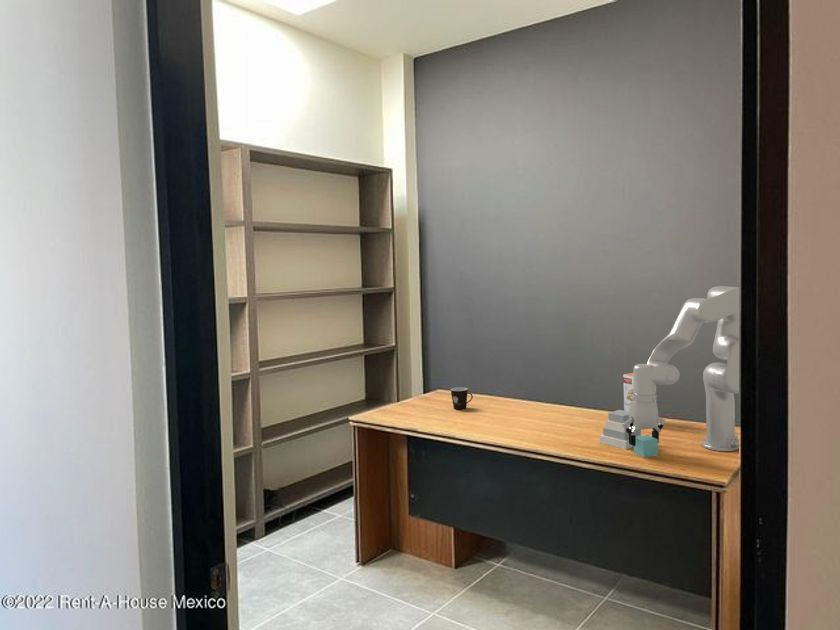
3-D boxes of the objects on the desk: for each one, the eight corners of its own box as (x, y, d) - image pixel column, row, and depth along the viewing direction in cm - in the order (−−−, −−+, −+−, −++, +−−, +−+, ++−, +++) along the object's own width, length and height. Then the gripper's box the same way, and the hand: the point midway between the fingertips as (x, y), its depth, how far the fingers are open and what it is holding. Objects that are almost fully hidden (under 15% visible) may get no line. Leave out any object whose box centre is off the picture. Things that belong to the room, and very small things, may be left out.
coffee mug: (448, 408, 307) (447, 388, 307) (463, 405, 311) (462, 386, 310) (459, 412, 297) (458, 392, 296) (474, 410, 301) (473, 390, 300)
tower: (644, 442, 235) (644, 412, 234) (625, 449, 228) (624, 418, 227) (618, 436, 245) (618, 407, 244) (599, 442, 238) (598, 413, 237)
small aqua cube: (647, 450, 226) (647, 435, 225) (658, 455, 220) (657, 439, 219) (634, 452, 224) (633, 437, 224) (644, 457, 218) (643, 441, 218)
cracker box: (623, 420, 268) (622, 373, 266) (634, 418, 270) (632, 372, 268) (647, 427, 255) (646, 378, 253) (657, 425, 258) (656, 377, 256)
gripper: (657, 394, 226) (657, 438, 227) (617, 397, 222) (617, 443, 223) (671, 398, 219) (670, 444, 220) (629, 402, 214) (629, 449, 216)
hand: (643, 443), depth 222 cm, fingers open, 9 cm apart
